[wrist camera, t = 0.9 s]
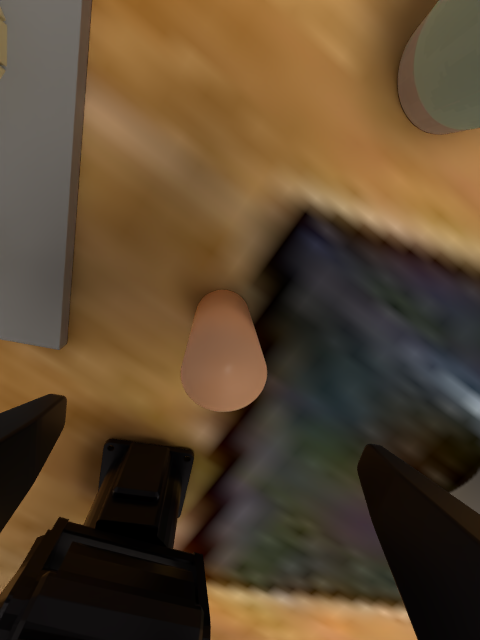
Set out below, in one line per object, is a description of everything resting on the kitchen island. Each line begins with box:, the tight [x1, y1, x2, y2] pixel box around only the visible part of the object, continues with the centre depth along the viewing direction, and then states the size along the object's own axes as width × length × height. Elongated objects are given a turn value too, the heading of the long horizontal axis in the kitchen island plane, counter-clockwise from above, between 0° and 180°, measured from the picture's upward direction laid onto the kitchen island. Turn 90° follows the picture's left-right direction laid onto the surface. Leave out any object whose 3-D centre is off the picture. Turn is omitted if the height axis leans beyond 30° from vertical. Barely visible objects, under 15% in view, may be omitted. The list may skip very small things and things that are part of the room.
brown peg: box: [181, 290, 267, 412], centre depth 16 cm, size 4×4×8 cm
